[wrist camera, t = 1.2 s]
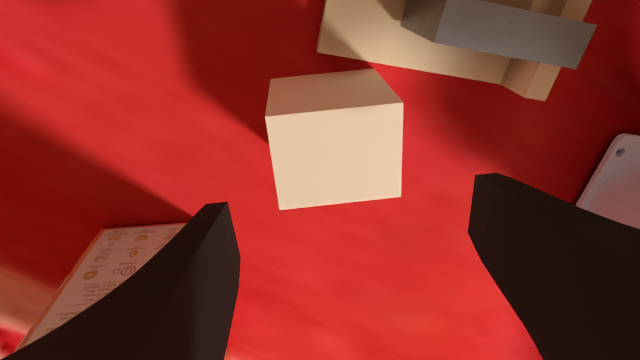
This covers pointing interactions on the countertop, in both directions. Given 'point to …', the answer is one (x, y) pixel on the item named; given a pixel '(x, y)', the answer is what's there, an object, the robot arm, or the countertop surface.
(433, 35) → the bookend
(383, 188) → the beige wooden cube
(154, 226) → the cracker box
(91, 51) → the countertop surface
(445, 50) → the shelf
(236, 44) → the countertop surface
